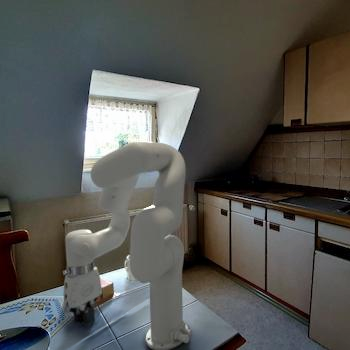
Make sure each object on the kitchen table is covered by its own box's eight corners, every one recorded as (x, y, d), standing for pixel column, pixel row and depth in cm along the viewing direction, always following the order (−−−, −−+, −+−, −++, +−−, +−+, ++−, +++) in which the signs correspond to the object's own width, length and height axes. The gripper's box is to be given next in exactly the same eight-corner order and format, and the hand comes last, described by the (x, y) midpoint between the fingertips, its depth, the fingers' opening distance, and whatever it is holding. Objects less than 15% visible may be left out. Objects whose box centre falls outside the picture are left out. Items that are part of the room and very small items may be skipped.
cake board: (121, 296, 103) (120, 294, 103) (90, 312, 92) (90, 310, 92) (99, 288, 109) (99, 285, 109) (68, 302, 99) (68, 300, 99)
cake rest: (114, 293, 103) (113, 282, 103) (103, 298, 99) (102, 287, 99) (98, 287, 108) (98, 276, 108) (87, 292, 104) (87, 281, 104)
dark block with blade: (95, 323, 86) (94, 309, 86) (87, 327, 84) (86, 313, 84) (68, 310, 94) (67, 296, 93) (60, 313, 92) (59, 300, 91)
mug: (132, 271, 124) (131, 250, 123) (152, 276, 120) (151, 253, 119) (117, 279, 116) (116, 256, 115) (138, 284, 112) (137, 260, 111)
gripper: (60, 281, 77) (64, 339, 78) (111, 261, 91) (113, 310, 93) (47, 275, 80) (51, 331, 82) (98, 257, 95) (100, 305, 96)
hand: (84, 320), depth 87 cm, fingers closed on dark block with blade, 2 cm apart
